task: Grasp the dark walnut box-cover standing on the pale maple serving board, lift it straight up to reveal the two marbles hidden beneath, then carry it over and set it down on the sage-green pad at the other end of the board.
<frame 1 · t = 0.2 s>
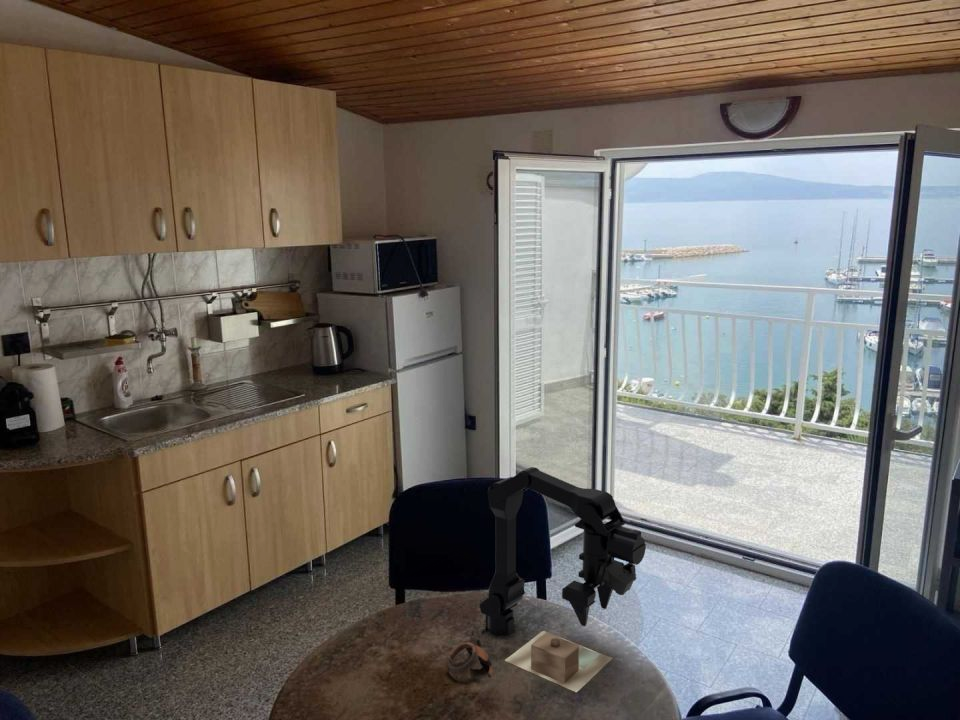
hand: (594, 616, 155), 14 cm above the table, fingers open, 9 cm apart
marble teal: (548, 666, 159), point 1 cm above the table, touching serving board
pottery mug: (472, 673, 158), on the table
marble ivory: (561, 672, 156), point 1 cm above the table, touching serving board
serving board: (558, 663, 162), on the table
walnut cover: (554, 669, 157), point 1 cm above the table, touching serving board
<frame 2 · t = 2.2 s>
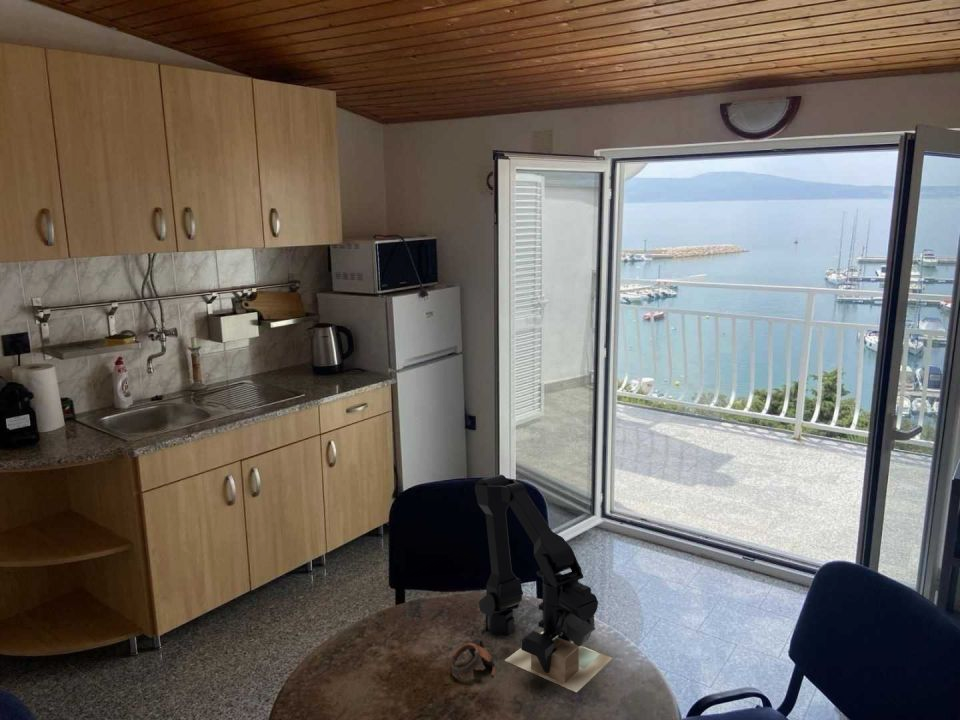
hand: (554, 665, 157), 2 cm above the table, fingers closed on walnut cover, 6 cm apart
walnut cover: (554, 669, 157), point 1 cm above the table, touching gripper, serving board
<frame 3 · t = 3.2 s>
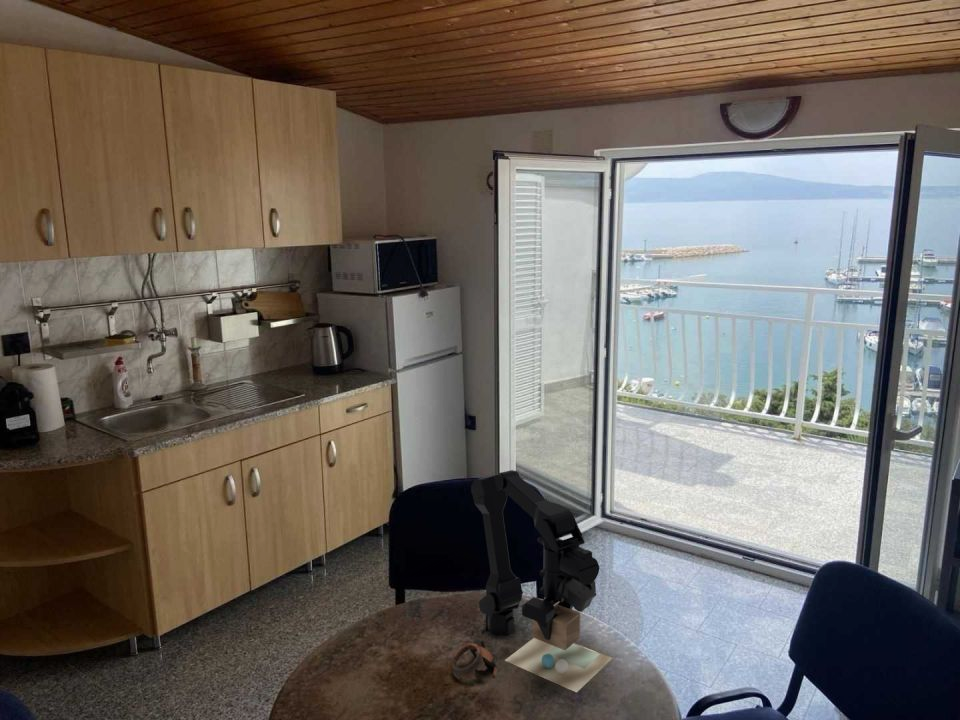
hand: (555, 633, 156), 10 cm above the table, fingers closed on walnut cover, 6 cm apart
walnut cover: (555, 637, 156), point 9 cm above the table, touching gripper
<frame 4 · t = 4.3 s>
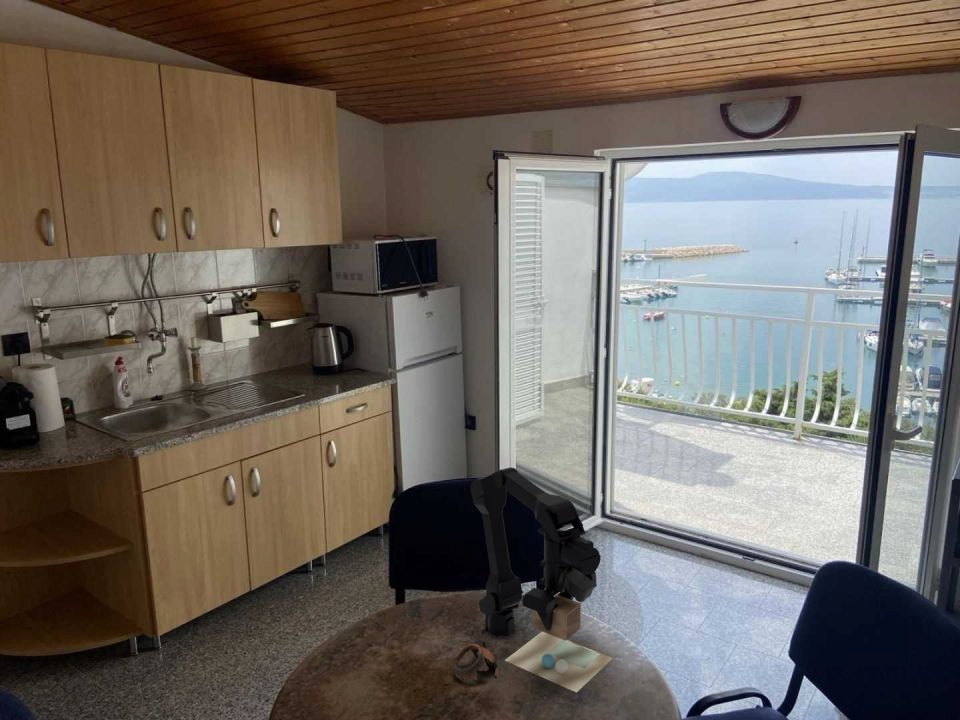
hand: (556, 623, 156), 12 cm above the table, fingers closed on walnut cover, 6 cm apart
walnut cover: (556, 628, 156), point 11 cm above the table, touching gripper
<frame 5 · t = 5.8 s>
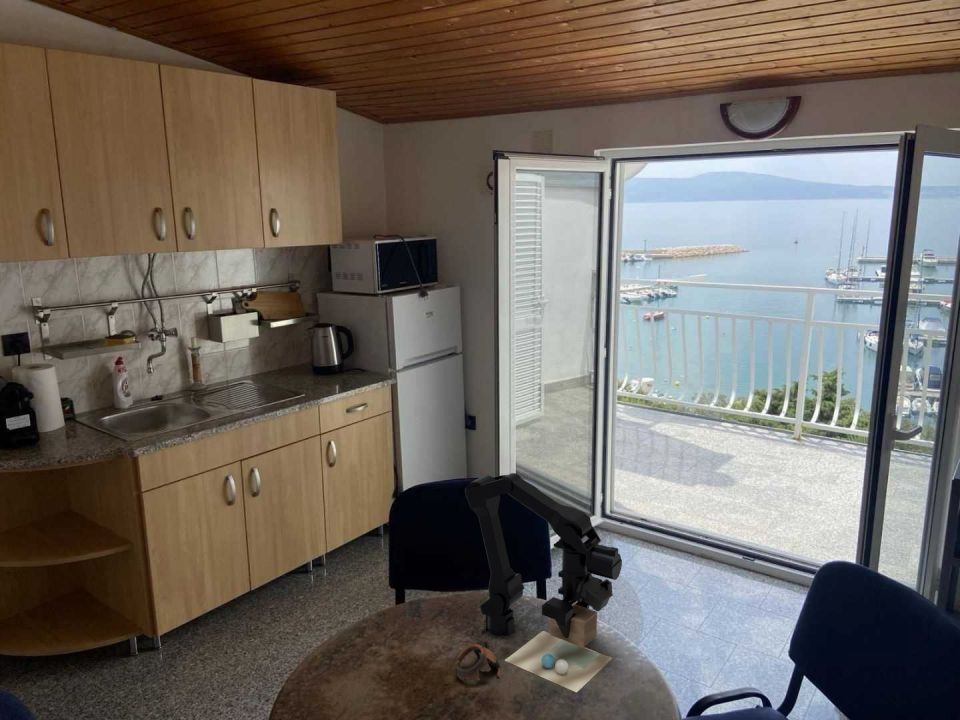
hand: (573, 631, 163), 7 cm above the table, fingers closed on walnut cover, 6 cm apart
walnut cover: (573, 635, 163), point 6 cm above the table, touching gripper
when the fingers open (3 cm above the table, at t = 6.9 s): walnut cover stays where it is, resting on serving board.
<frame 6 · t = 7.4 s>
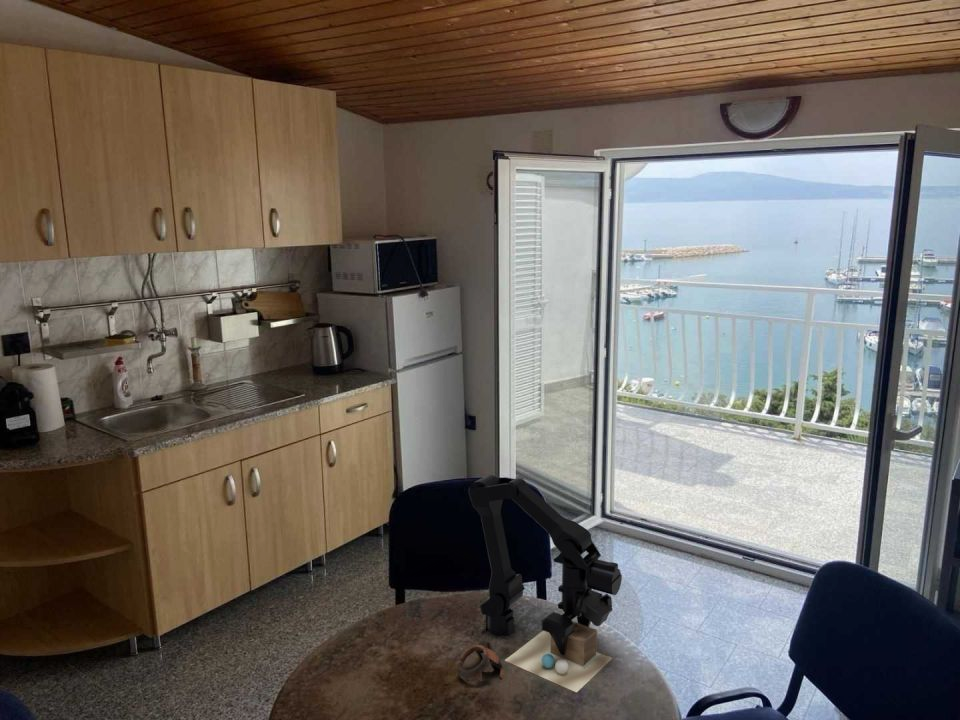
hand: (573, 645, 163), 3 cm above the table, fingers open, 9 cm apart
walnut cover: (573, 653, 164), point 1 cm above the table, touching serving board
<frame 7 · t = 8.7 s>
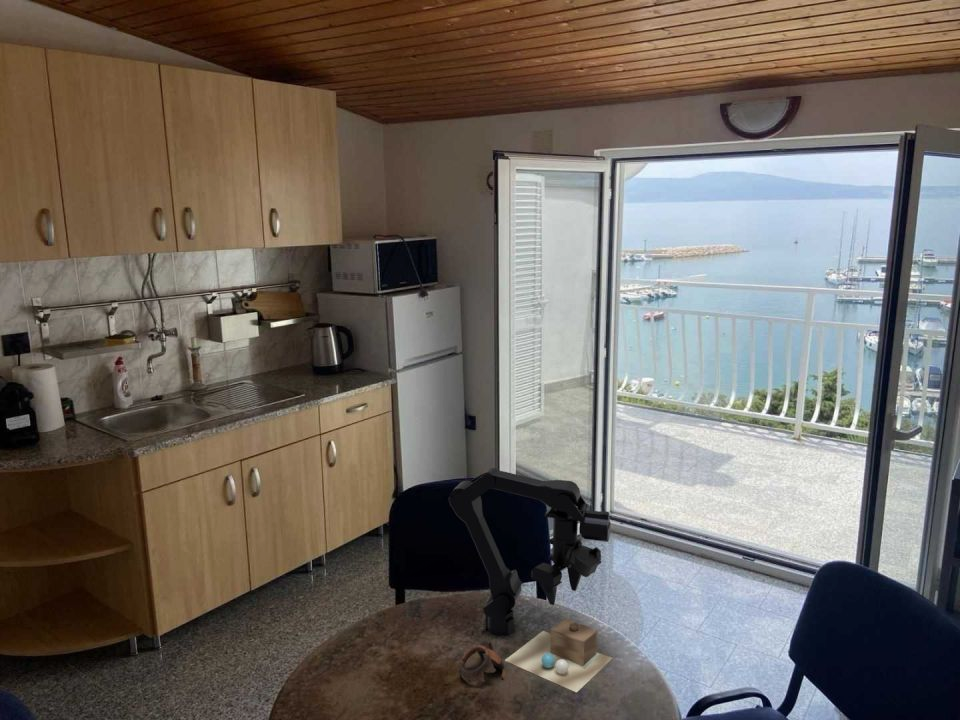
hand: (563, 597, 168), 12 cm above the table, fingers open, 9 cm apart
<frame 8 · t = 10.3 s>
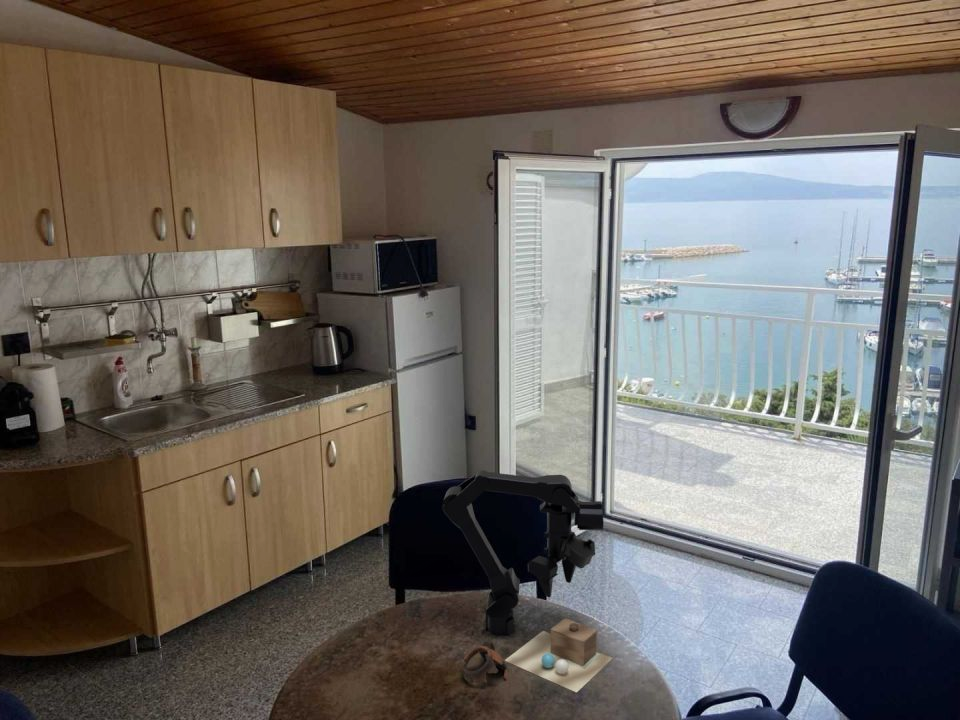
hand: (558, 589, 171), 12 cm above the table, fingers open, 9 cm apart
at the end: walnut cover inside the target area on the serving board (0.0 cm from its centre), point 1.0 cm above the serving board's base; walnut cover tilted 0° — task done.
